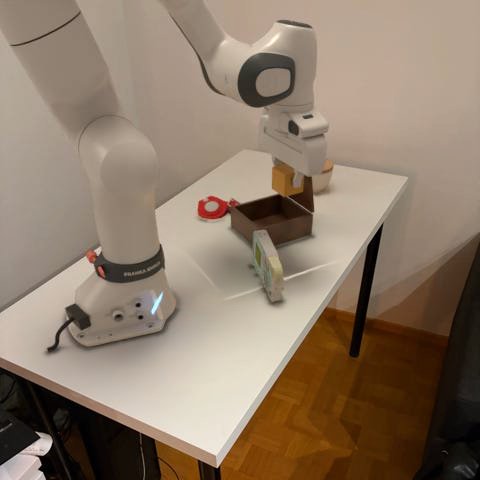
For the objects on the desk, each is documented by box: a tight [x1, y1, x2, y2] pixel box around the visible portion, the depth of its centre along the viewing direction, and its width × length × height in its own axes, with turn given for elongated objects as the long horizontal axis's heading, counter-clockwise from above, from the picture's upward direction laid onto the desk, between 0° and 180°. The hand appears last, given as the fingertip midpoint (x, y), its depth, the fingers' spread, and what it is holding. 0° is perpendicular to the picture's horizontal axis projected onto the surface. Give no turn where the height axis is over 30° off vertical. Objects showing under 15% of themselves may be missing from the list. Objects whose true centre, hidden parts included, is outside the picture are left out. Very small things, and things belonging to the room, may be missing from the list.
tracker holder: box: [197, 195, 242, 220], centre depth 134 cm, size 12×4×10 cm
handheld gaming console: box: [251, 230, 285, 303], centre depth 105 cm, size 11×3×15 cm
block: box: [271, 164, 304, 197], centre depth 104 cm, size 5×5×5 cm
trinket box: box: [312, 158, 335, 194], centre depth 142 cm, size 11×11×9 cm
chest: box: [229, 193, 314, 247], centre depth 123 cm, size 16×15×6 cm
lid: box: [282, 162, 315, 214], centre depth 119 cm, size 16×15×5 cm
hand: (287, 181), depth 105 cm, fingers closed on block, 5 cm apart
